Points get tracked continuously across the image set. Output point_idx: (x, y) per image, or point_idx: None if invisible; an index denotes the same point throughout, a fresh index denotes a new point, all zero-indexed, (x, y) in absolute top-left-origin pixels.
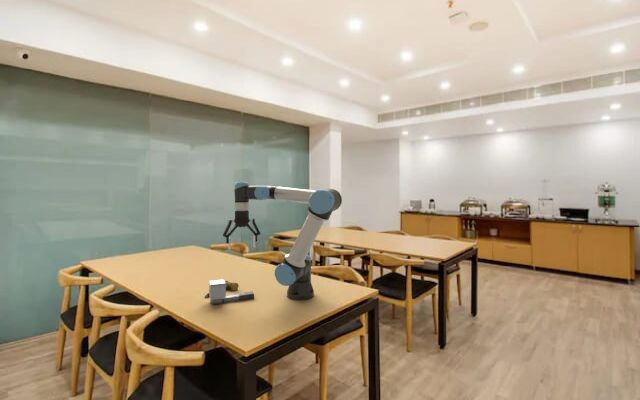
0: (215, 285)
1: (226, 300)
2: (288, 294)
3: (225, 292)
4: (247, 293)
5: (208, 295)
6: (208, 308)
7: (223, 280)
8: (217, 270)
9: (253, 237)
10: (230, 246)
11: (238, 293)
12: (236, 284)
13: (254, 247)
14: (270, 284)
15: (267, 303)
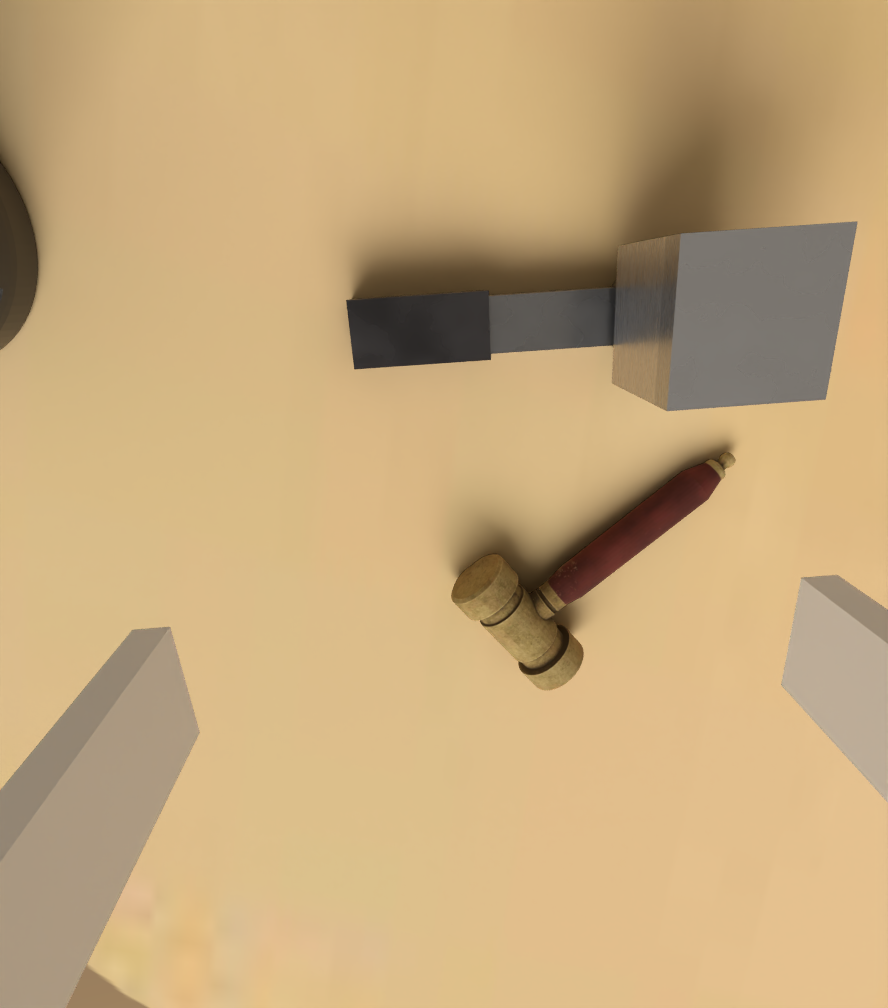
0: (791, 227)
1: (595, 288)
2: (2, 196)
3: (641, 241)
4: (406, 326)
5: (706, 466)
6: (753, 187)
7: (679, 359)
8: (538, 983)
9: (9, 1003)
10: (863, 627)
11: (485, 357)
12: (471, 589)
13: (156, 633)
14: (182, 614)
15: (241, 113)
